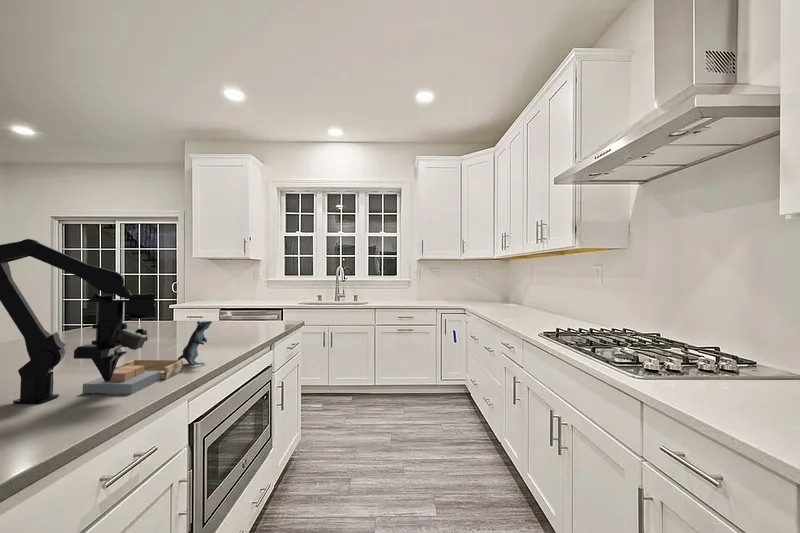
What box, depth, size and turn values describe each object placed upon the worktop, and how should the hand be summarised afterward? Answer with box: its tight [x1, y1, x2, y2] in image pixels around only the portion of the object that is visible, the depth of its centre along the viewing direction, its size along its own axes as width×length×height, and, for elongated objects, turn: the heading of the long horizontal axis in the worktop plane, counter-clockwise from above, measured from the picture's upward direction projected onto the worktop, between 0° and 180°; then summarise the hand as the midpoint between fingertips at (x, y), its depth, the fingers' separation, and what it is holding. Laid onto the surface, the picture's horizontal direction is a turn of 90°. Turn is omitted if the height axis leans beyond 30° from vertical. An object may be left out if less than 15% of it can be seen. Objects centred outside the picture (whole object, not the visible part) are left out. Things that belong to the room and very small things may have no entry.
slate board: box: [82, 371, 160, 395], centre depth 124 cm, size 16×12×2 cm
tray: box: [115, 359, 184, 381], centre depth 138 cm, size 12×15×4 cm
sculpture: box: [176, 320, 213, 367], centre depth 156 cm, size 8×11×15 cm
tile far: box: [117, 366, 145, 377], centre depth 128 cm, size 5×5×2 cm
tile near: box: [110, 369, 135, 381], centre depth 122 cm, size 5×5×2 cm
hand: (107, 381), depth 116 cm, fingers closed
